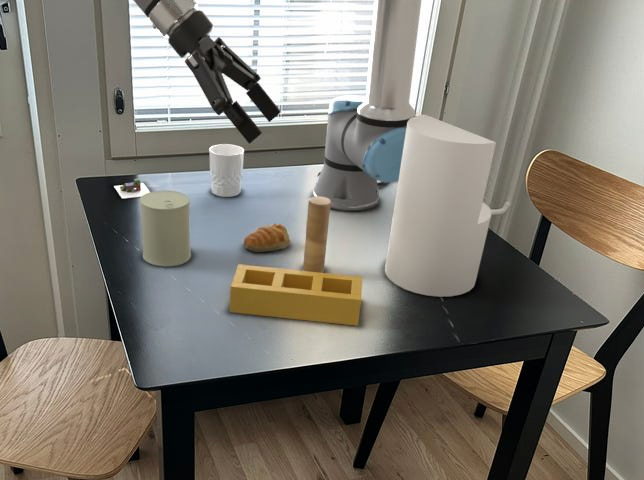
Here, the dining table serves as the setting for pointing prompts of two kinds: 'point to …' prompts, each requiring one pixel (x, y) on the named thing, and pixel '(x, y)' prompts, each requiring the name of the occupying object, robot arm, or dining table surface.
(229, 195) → the white cup
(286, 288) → the yellow peg holder
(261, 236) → the pastry
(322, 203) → the peg
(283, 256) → the dining table surface
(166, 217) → the can
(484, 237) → the cylinder
